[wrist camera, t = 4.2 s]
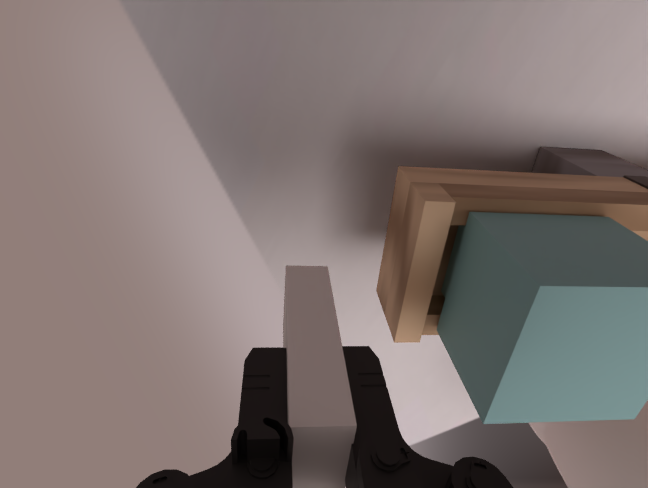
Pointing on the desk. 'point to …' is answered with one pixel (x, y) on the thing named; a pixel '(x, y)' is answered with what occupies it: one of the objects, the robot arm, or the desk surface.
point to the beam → (496, 197)
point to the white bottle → (599, 451)
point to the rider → (548, 317)
